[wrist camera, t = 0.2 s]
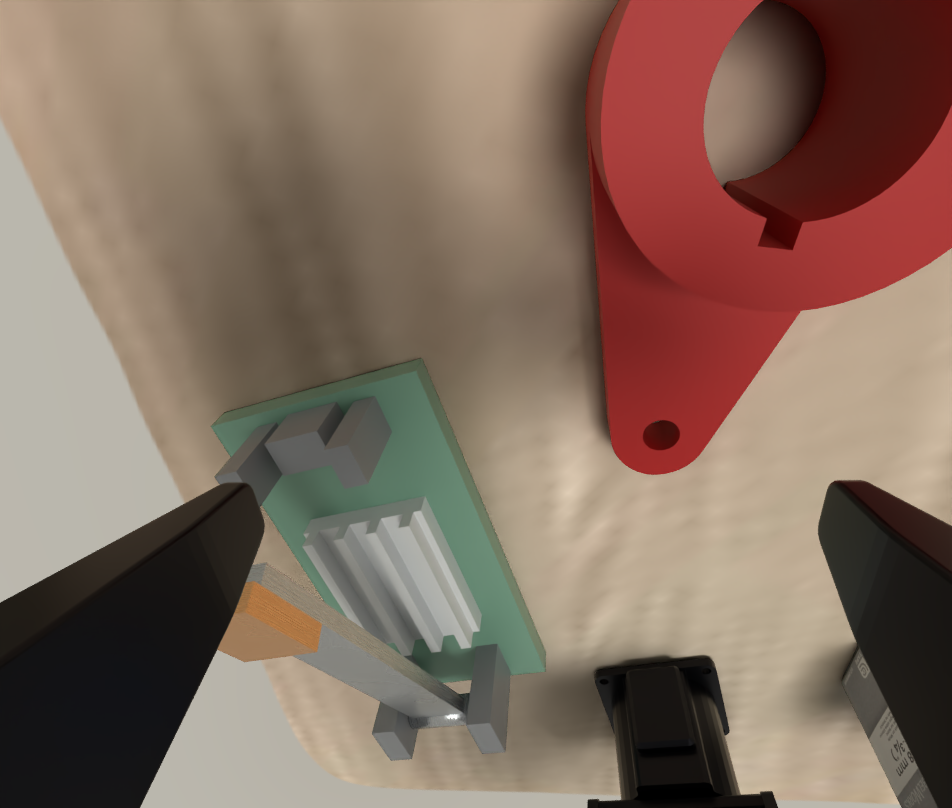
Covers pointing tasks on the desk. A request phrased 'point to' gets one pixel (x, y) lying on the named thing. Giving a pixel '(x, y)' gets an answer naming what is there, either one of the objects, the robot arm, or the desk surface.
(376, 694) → the strap
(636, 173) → the lever
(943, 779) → the robot arm
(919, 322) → the desk surface
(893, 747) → the label tape cartridge
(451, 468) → the base
